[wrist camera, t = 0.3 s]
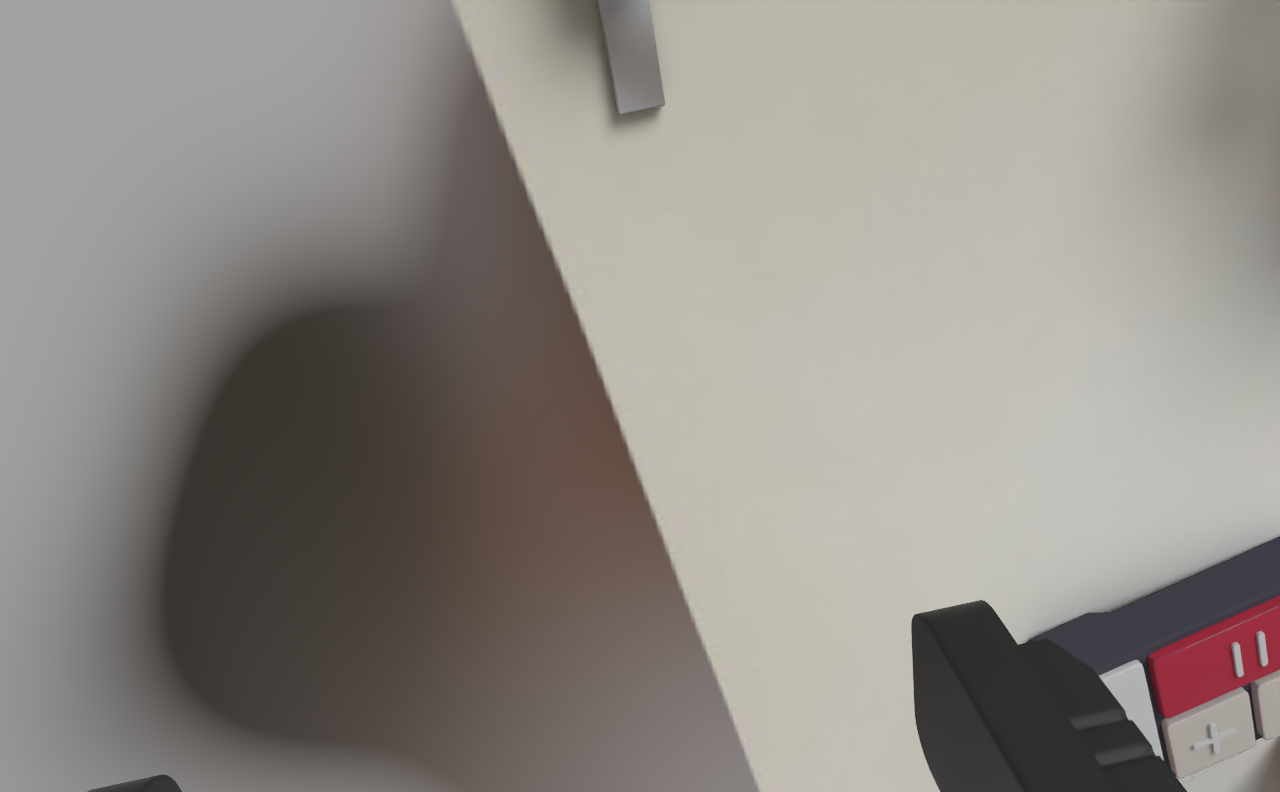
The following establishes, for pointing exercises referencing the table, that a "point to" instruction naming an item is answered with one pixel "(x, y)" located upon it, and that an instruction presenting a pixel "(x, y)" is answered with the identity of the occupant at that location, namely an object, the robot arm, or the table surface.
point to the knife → (631, 54)
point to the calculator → (1193, 660)
